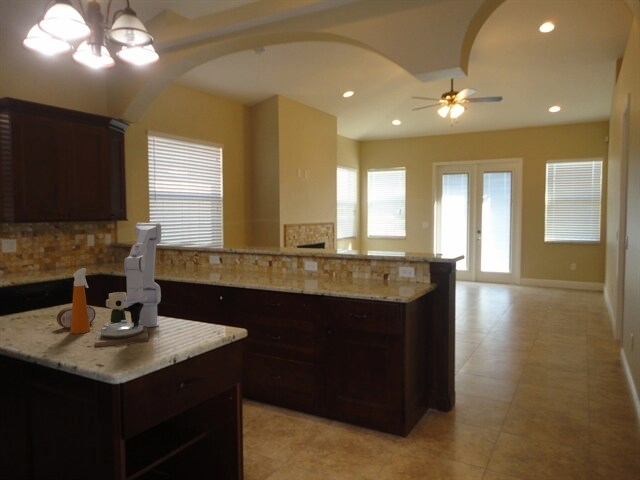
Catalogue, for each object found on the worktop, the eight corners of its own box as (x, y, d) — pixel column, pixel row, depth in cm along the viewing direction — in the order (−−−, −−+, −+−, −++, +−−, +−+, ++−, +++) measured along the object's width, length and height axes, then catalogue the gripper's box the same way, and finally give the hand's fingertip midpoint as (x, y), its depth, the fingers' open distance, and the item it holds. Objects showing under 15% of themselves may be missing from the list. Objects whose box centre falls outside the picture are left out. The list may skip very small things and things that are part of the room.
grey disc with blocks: (98, 339, 167) (97, 320, 166) (104, 329, 181) (103, 311, 180) (141, 336, 171) (141, 317, 171) (144, 326, 186) (143, 309, 185)
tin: (93, 322, 200) (93, 303, 199) (96, 323, 198) (96, 304, 197) (56, 329, 188) (55, 309, 188) (59, 330, 186) (59, 310, 186)
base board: (98, 333, 181) (98, 329, 181) (146, 329, 188) (146, 325, 188) (95, 346, 165) (95, 342, 164) (148, 341, 171) (148, 336, 171)
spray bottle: (79, 336, 177) (77, 269, 175) (67, 331, 184) (65, 267, 182) (98, 332, 183) (96, 267, 181) (85, 328, 189) (83, 265, 188)
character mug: (111, 326, 192) (111, 296, 191) (101, 324, 196) (101, 294, 195) (134, 321, 201) (133, 292, 200) (124, 319, 205) (123, 290, 204)
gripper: (134, 290, 167) (134, 327, 168) (154, 284, 181) (154, 318, 182) (116, 290, 168) (117, 326, 169) (137, 284, 182) (138, 317, 183)
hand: (135, 322), depth 176 cm, fingers closed, pressing on grey disc with blocks
